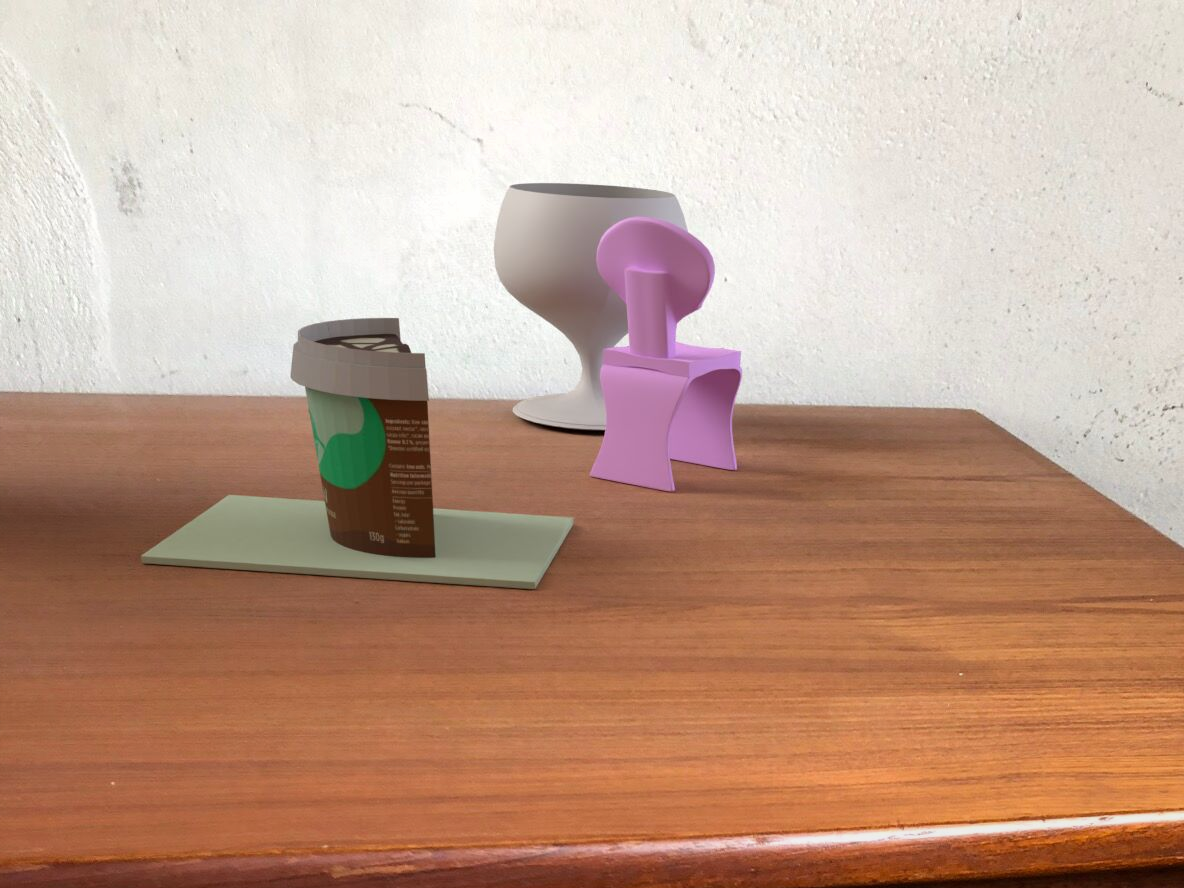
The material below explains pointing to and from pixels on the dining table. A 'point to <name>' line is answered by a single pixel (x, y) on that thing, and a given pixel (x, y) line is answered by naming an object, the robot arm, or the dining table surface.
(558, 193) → the chalice
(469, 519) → the mat
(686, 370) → the toy chair
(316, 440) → the food container
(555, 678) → the dining table surface
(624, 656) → the dining table surface
